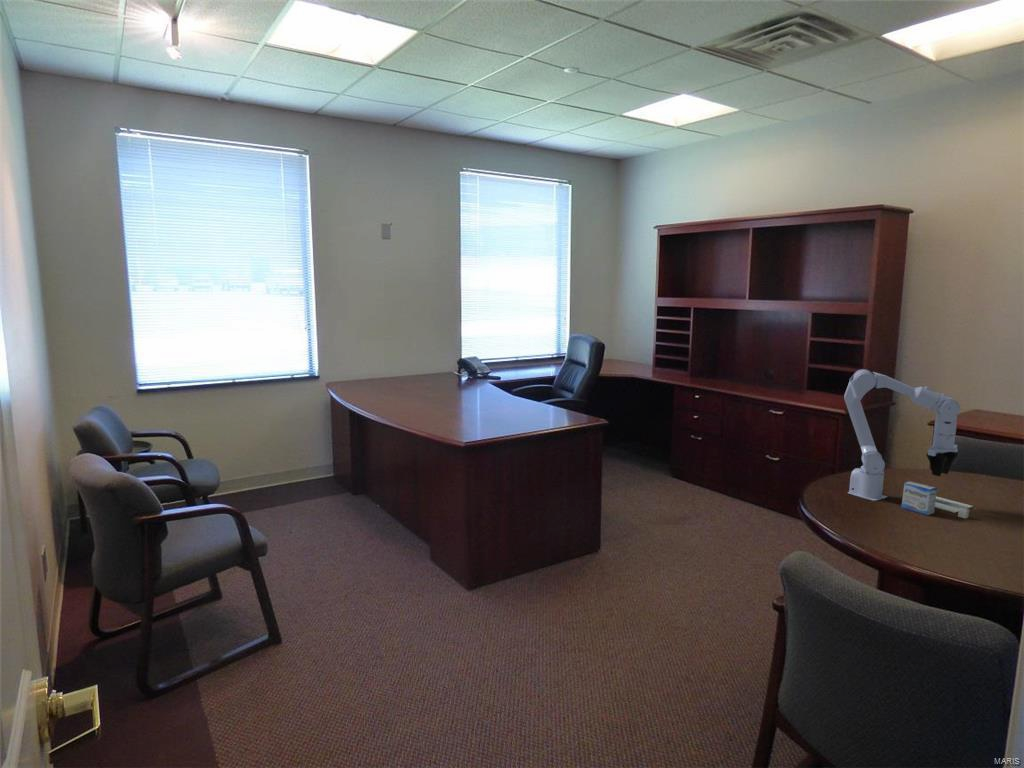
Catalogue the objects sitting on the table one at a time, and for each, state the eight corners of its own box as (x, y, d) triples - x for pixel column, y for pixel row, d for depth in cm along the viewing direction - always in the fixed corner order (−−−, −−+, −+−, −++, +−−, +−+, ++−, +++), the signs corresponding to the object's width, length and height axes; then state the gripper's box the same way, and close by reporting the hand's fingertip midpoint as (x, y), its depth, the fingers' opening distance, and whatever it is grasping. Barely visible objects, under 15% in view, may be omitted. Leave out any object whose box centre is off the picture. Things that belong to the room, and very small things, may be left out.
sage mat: (908, 500, 204) (908, 499, 204) (926, 494, 210) (926, 493, 210) (954, 513, 192) (954, 512, 192) (972, 506, 198) (972, 505, 198)
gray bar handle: (904, 501, 203) (904, 494, 203) (907, 500, 204) (907, 493, 204) (965, 518, 187) (966, 510, 187) (968, 517, 188) (969, 509, 188)
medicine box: (900, 508, 196) (903, 482, 195) (908, 505, 199) (910, 480, 197) (927, 515, 190) (930, 489, 188) (934, 513, 192) (937, 487, 191)
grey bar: (905, 494, 203) (905, 491, 203) (907, 493, 203) (907, 490, 203) (966, 510, 187) (967, 507, 187) (968, 510, 188) (968, 506, 188)
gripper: (946, 439, 190) (942, 480, 191) (969, 434, 197) (964, 474, 199) (922, 434, 196) (918, 474, 198) (945, 429, 203) (941, 468, 205)
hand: (940, 474), depth 198 cm, fingers open, 4 cm apart
